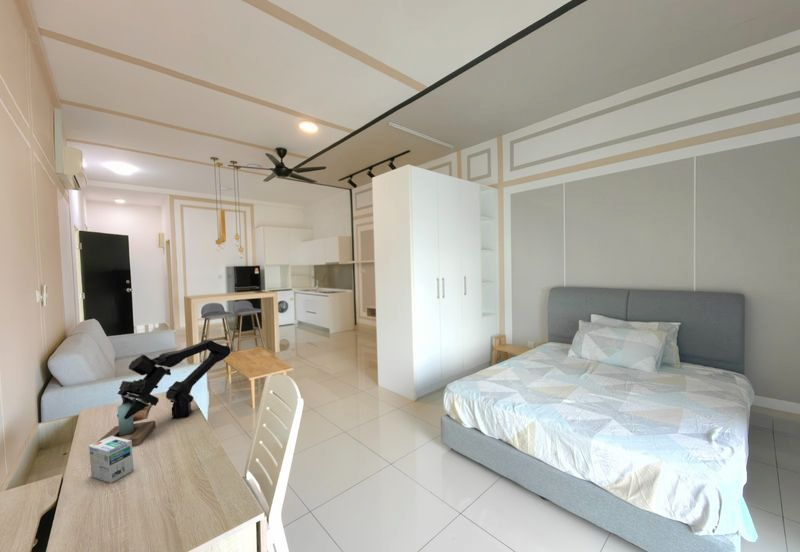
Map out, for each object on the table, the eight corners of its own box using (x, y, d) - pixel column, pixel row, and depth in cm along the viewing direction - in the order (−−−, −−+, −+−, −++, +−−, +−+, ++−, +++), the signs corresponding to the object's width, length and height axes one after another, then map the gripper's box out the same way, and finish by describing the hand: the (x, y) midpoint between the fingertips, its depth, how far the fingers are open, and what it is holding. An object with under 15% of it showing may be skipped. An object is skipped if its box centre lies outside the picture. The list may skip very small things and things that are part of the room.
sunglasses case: (148, 418, 140) (138, 408, 138) (131, 430, 137) (120, 419, 135) (153, 404, 156) (143, 394, 153) (138, 414, 152) (128, 405, 150)
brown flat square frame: (155, 427, 132) (155, 420, 132) (138, 445, 119) (138, 437, 119) (115, 433, 128) (115, 426, 128) (93, 452, 115) (93, 444, 115)
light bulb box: (134, 470, 104) (132, 439, 104) (110, 484, 98) (108, 451, 97) (114, 464, 108) (112, 434, 107) (89, 477, 101) (87, 445, 101)
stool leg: (136, 432, 125) (135, 403, 125) (125, 438, 121) (123, 408, 121) (128, 431, 126) (126, 402, 126) (116, 437, 122) (114, 407, 121)
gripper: (121, 369, 130) (89, 406, 120) (148, 374, 123) (115, 414, 113) (144, 380, 137) (115, 416, 128) (170, 386, 130) (142, 424, 121)
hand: (121, 417), depth 122 cm, fingers closed on stool leg, 4 cm apart
